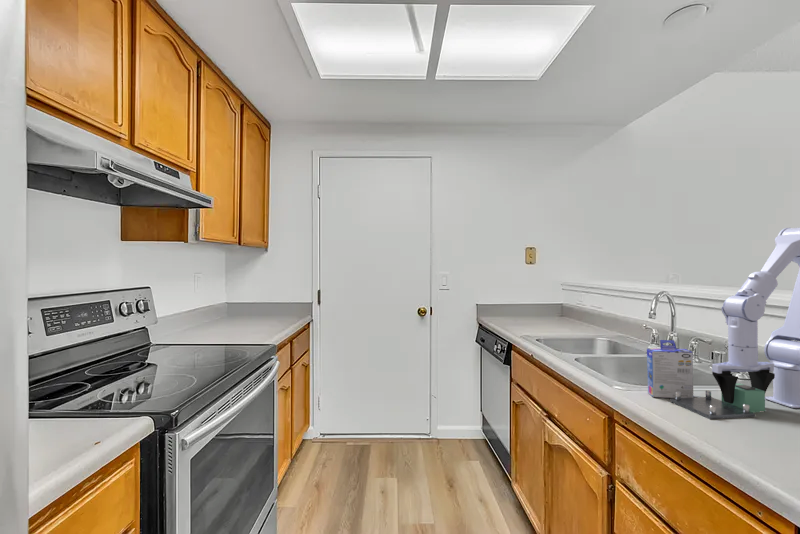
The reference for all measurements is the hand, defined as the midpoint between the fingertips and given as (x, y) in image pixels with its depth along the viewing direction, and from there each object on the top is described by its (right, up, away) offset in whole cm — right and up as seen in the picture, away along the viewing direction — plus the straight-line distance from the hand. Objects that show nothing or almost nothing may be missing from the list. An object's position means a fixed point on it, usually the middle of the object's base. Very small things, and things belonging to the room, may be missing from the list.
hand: (743, 401), depth 110 cm
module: (0, -2, 0) cm, 2 cm away
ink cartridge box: (-12, -2, +10) cm, 16 cm away
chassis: (-8, -2, -1) cm, 9 cm away
